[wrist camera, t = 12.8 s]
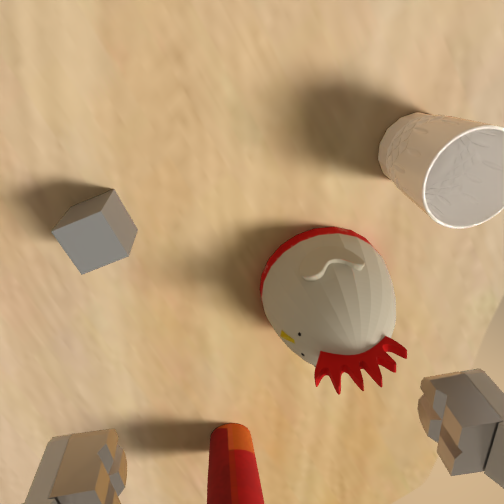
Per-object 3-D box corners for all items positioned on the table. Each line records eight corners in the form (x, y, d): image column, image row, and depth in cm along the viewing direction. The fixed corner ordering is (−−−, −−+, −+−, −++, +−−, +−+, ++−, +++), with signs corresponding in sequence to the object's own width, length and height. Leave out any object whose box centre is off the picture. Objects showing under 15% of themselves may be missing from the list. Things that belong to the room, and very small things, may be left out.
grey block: (70, 206, 37) (51, 231, 32) (114, 189, 37) (100, 211, 32) (96, 246, 39) (81, 274, 34) (137, 229, 39) (128, 256, 34)
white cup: (359, 133, 37) (408, 161, 28) (438, 88, 36) (516, 103, 27) (386, 201, 40) (438, 246, 32) (459, 162, 39) (534, 197, 30)
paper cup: (208, 459, 56) (210, 576, 44) (197, 423, 52) (195, 540, 40) (262, 449, 56) (279, 562, 44) (255, 412, 53) (271, 525, 40)
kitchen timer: (249, 242, 41) (272, 337, 28) (379, 214, 41) (463, 295, 28) (270, 343, 47) (297, 458, 34) (382, 318, 48) (451, 423, 34)
